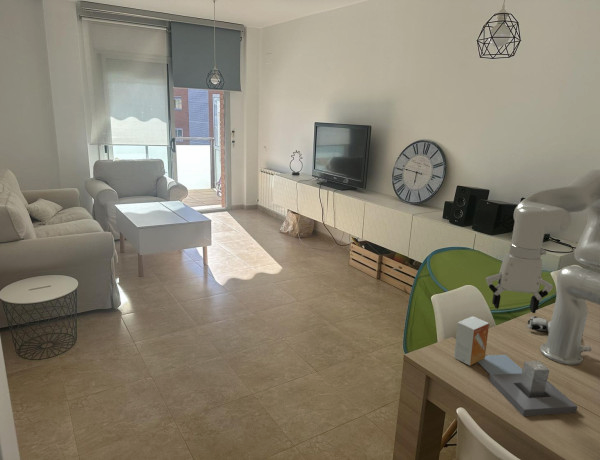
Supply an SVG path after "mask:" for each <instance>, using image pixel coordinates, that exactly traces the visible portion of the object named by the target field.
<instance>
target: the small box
mask: <svg viewBox="0 0 600 460" xmlns="http://www.w3.org/2000/svg"><path fill="white" fill-rule="evenodd" d="M456 326H457V327H456V335H455V346H454V347H455V348H454V354H453V355H454V358H455V359H456V360H458V361H460V362H461V363H464V364H466V365H468V366H472V365H474V364H477V363H478V361H480V360H482V359H484V358H485V356H486V353H487V351H486V350H487V345H488V343H487V342H488V335H489V327H490V323H489V322H488V321H485V320H483V319H480V318H478V317H476V316H473V315H472V316H470V317H467V318H464V319H462V320H460V321H458V322H457V324H456Z"/></svg>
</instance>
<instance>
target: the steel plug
mask: <svg viewBox="0 0 600 460" xmlns="http://www.w3.org/2000/svg"><path fill="white" fill-rule="evenodd" d="M522 370H523V371H522V376H521V381H520V386H519V389H520V390H521V391H522V392H523V393H524V394H525V395H526V396H527V397H528V398H539V397H544V392H545V388H546V383H547V381H548V378H549V373H550V371H551V370H550V368H549V367H547V366H546V365H545V364H543V362H541V361H540V360H524V363H523V367H522Z"/></svg>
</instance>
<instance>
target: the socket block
mask: <svg viewBox="0 0 600 460" xmlns="http://www.w3.org/2000/svg"><path fill="white" fill-rule="evenodd" d="M521 376H522V373H517V374H497V375H490V374H489V379H488V381H489V382H490V383H491V384H492V385H493V386H494V387H495V389H497V391H498V392H499V393H500V394H501V395H502V396H503V397H504V398H505V400H506V401H508V402H509V403H510V404H511V405H512V407H514V408H515V409H516V411H517V412H518V413H520V415H521V416H522V417H528V416H543V415H559V414H570V413H571V414H572V413H573V414H575V413H577V410H578V405H577V404H575V403H574V402H573V401H572V400H571V399H570V398H568V397H567V396H566V395H565V394H564V393H563V392H562V391H560V390H559V389H558V388H557V387H556V386H555V385H553V384H552V383H551V382H550V381H549V380H547V383H546V388H545V392H544V397H539V398H528V397H527V396H526V395H525V394H524V393H523V392H522V391H521V390H520V389H519V386H520V381H521Z"/></svg>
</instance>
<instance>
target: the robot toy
mask: <svg viewBox="0 0 600 460" xmlns="http://www.w3.org/2000/svg"><path fill="white" fill-rule="evenodd" d="M550 325H551V320H550V321H549V320H548V319H545V318H541V317H538V316H530V317H529V320H528V321H527V324H526V327H527V329H531V330H532V331H533V330H534V331H539V332H541V331H542V332H543V331H544V332H546V331H547V333H549V330H550Z"/></svg>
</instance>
